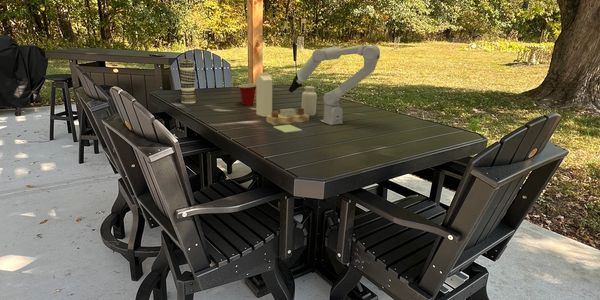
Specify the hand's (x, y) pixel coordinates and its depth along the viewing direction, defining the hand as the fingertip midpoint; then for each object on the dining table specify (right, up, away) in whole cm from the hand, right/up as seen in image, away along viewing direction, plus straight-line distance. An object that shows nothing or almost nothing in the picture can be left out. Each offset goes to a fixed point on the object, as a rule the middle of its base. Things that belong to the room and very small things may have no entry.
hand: (291, 89), depth 198 cm
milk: (-15, -13, +8) cm, 21 cm away
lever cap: (-1, -14, -6) cm, 15 cm away
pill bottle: (+9, -12, +13) cm, 20 cm away
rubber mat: (-1, -22, -19) cm, 29 cm away
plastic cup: (-27, -4, +33) cm, 43 cm away
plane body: (-2, -17, -5) cm, 18 cm away
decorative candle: (-63, -3, +34) cm, 71 cm away
